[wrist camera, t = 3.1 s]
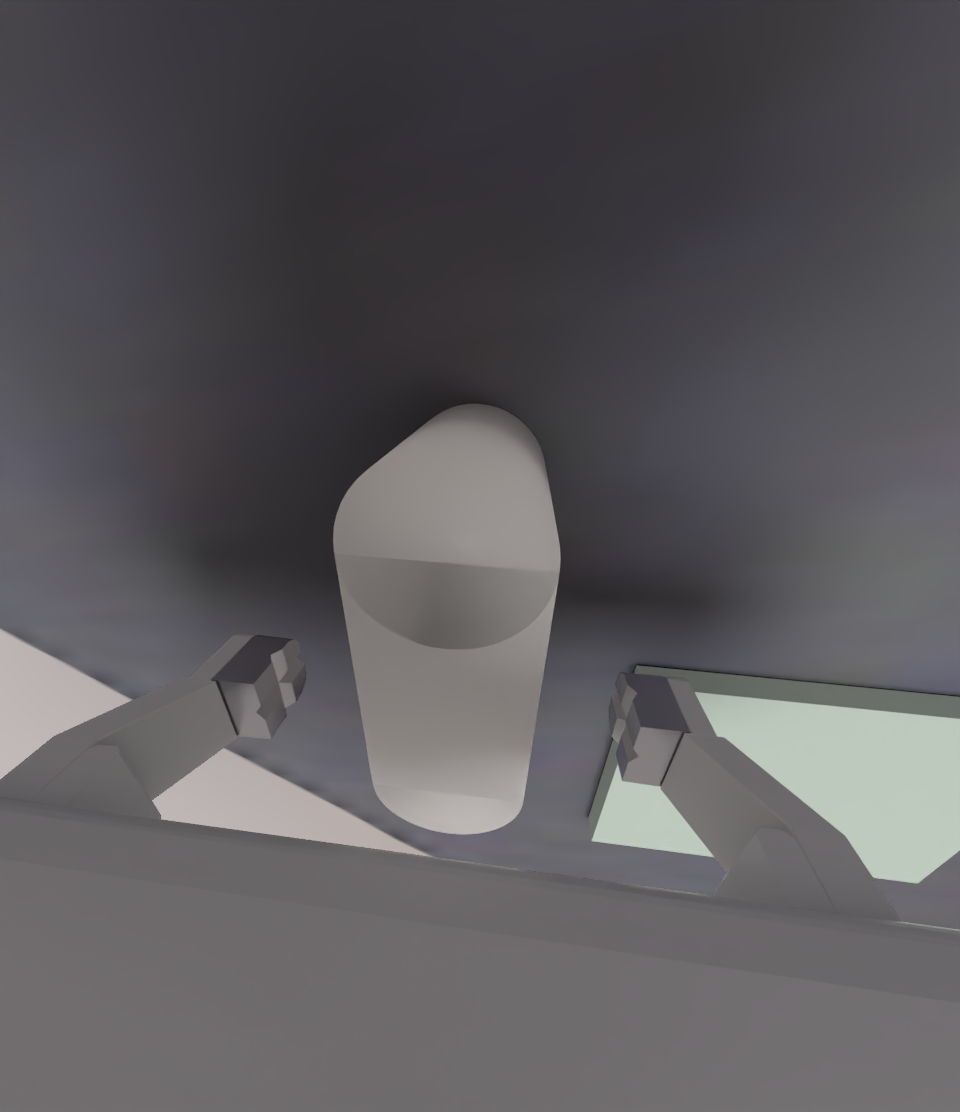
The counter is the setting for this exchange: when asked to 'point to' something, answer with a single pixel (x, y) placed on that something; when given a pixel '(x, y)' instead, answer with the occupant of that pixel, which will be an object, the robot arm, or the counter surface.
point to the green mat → (818, 768)
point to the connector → (450, 615)
